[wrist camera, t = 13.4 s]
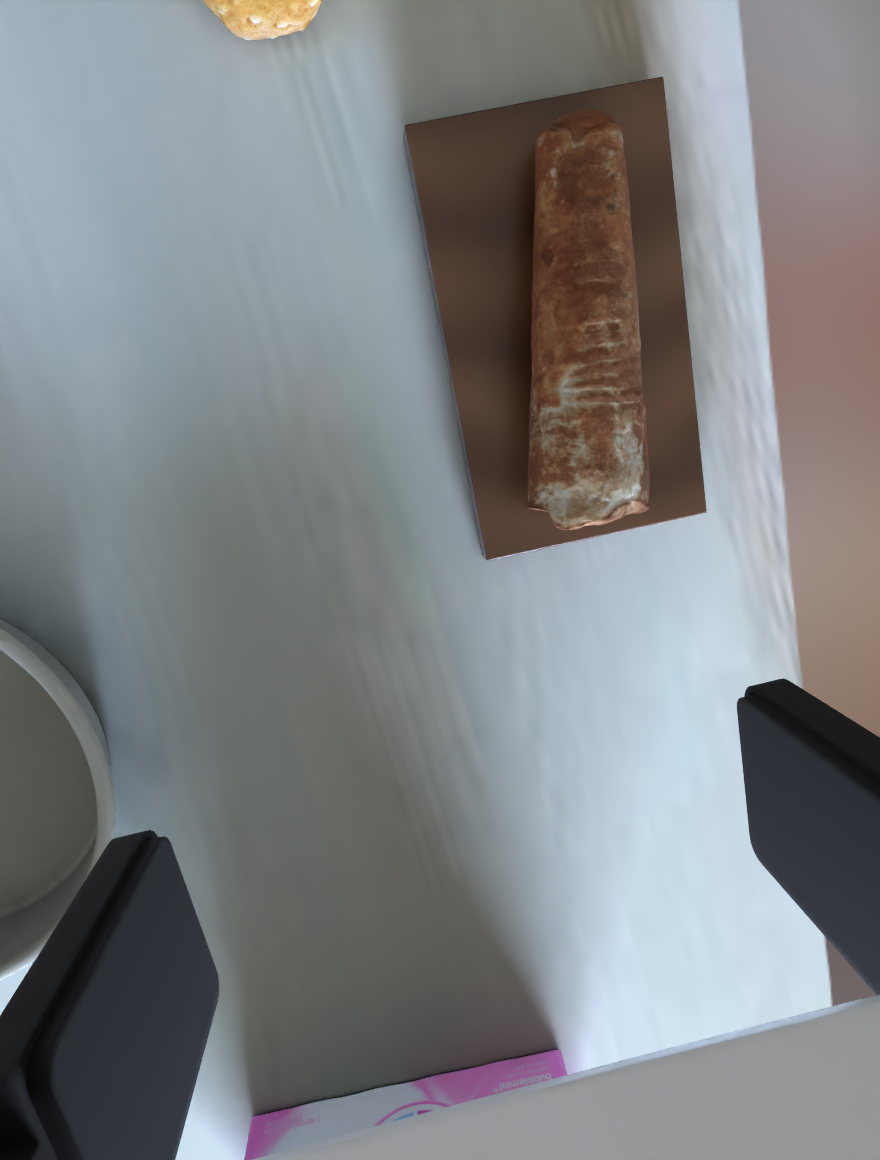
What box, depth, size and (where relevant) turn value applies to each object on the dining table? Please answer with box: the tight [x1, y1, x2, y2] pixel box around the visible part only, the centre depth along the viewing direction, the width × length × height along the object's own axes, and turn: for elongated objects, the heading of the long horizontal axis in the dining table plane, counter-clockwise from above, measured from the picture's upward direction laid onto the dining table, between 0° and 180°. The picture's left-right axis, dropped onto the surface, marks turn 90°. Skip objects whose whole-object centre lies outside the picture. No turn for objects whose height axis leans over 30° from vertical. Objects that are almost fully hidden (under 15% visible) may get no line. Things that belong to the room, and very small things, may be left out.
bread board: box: [403, 77, 706, 561], centre depth 35 cm, size 22×13×2 cm, turn 12°
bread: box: [527, 109, 650, 530], centre depth 32 cm, size 6×19×6 cm, turn 2°
